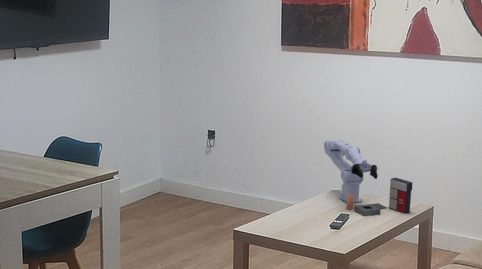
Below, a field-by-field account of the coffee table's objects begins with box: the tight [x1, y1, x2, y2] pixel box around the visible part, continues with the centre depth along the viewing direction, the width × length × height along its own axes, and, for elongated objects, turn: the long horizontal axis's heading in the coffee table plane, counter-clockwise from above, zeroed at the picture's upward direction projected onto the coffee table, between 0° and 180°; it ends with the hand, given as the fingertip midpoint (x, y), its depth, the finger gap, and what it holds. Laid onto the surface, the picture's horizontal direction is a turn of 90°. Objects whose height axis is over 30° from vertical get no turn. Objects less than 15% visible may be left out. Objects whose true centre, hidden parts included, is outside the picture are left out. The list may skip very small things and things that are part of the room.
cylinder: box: [346, 194, 354, 211], centre depth 377 cm, size 3×3×7 cm
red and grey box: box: [388, 177, 413, 214], centre depth 375 cm, size 11×4×15 cm, turn 37°
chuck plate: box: [353, 203, 382, 217], centre depth 372 cm, size 9×9×2 cm
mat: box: [365, 202, 388, 210], centre depth 381 cm, size 8×8×1 cm
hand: (369, 176), depth 369 cm, fingers open, 7 cm apart
